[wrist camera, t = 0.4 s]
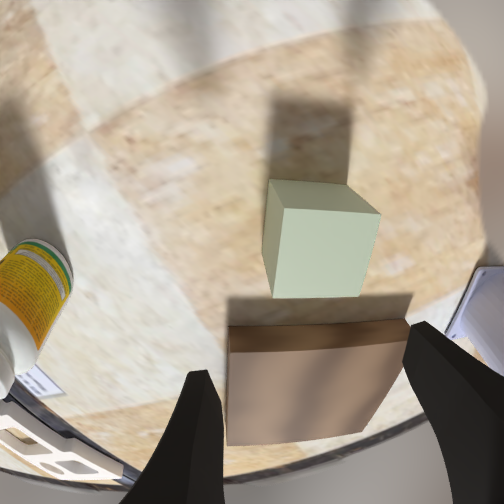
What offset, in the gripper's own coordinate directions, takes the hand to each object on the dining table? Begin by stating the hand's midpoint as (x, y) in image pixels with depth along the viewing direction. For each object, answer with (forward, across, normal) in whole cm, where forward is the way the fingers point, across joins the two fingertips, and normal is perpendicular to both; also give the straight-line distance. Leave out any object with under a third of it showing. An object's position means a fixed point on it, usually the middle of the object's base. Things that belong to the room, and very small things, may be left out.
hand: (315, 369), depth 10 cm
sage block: (+10, -2, -1) cm, 10 cm away
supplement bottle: (+10, +16, -1) cm, 18 cm away
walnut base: (+10, -1, +14) cm, 17 cm away
